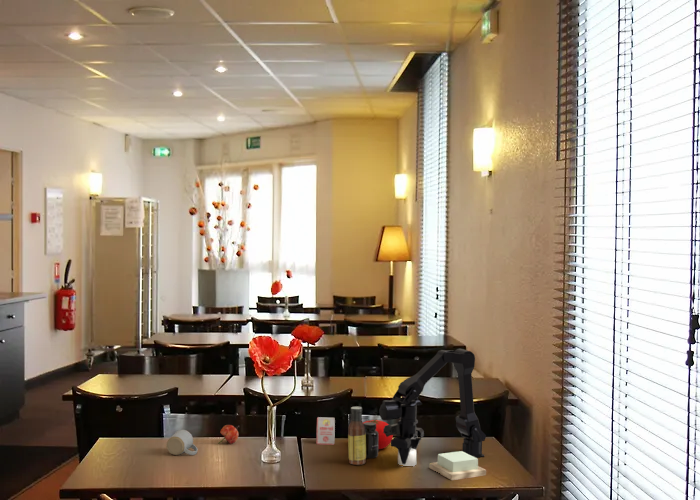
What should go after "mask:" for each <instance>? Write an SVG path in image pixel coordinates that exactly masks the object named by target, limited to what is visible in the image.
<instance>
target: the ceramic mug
mask: <svg viewBox="0 0 700 500" xmlns="http://www.w3.org/2000/svg"><path fill="white" fill-rule="evenodd" d="M166 449H167V451H168V453H169V454H171V455H174V456H180V455H182V454H183V453H184V454H187V455H189V456H190V455H191V456H195V455H197V453H198V447H197V446H196V445H195V444H194V437H193V434H191V433H190V432H189V431H188V430H186V429H179V430H177V431H176V432H175V433H174V434H173V435H171V436H170V437H169V438H168V439H167V442H166ZM190 449H192V450H190Z"/></svg>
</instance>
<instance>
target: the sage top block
mask: <svg viewBox="0 0 700 500" xmlns="http://www.w3.org/2000/svg"><path fill="white" fill-rule="evenodd" d="M437 462H438V465H440V466H442V467H444V468H446V469H448V470H450V471H451V472H460V471H467V470H474V469H478V466H479V459H478V457H476V458H475V457H473V456H471V455H469V454H467V453H465V452H463V451H462V450H461V451H460V450H459V451H451V452H445V453H443V452H442V453H438V454H437Z"/></svg>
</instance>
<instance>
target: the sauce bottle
mask: <svg viewBox="0 0 700 500" xmlns="http://www.w3.org/2000/svg"><path fill="white" fill-rule="evenodd" d="M350 413H351V417H350V418H351V420H350V422H349V425H348V427H347V428H348V432H347V433H348V434H347V439H348V443H347V445H348V447H347V448H348V449H347V450H348V461H349V464H350V465H354V466H362V465H364V464H366V463H367V462H366V459H367V458H366V431H365V427H364V425H363V422H364V421H363V417H362V416H363V407H362V406H352V407H350Z"/></svg>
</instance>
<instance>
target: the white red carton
mask: <svg viewBox="0 0 700 500" xmlns="http://www.w3.org/2000/svg"><path fill="white" fill-rule="evenodd" d="M335 423H336V420H335V417H321V416H320V417H319V416H317V418H316V439H315V440H316V445H329V446H331V445H332V446H334V445H335V438H336V437H335V432H336V431H335V430H336V429H335V428H336V427H335V426H336V425H335Z"/></svg>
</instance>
